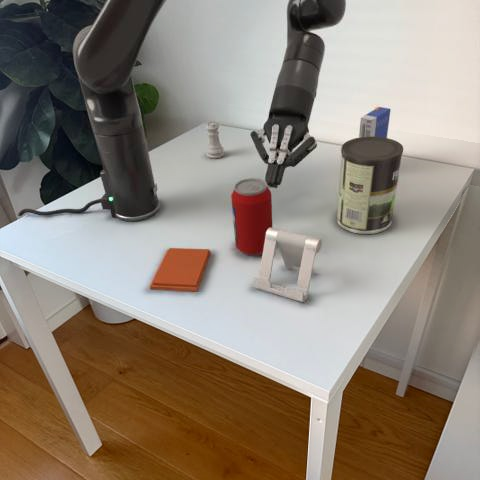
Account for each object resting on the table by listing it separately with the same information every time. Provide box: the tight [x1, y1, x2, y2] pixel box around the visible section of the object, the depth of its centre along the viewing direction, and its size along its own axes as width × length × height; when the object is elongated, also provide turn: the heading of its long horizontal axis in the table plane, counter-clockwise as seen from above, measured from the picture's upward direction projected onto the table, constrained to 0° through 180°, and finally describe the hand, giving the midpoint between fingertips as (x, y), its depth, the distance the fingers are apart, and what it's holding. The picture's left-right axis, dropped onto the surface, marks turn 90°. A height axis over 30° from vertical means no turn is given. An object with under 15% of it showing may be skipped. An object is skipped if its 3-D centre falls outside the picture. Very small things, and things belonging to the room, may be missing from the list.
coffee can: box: [336, 137, 404, 235], centre depth 87 cm, size 10×10×14 cm
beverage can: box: [230, 177, 273, 256], centre depth 83 cm, size 7×7×12 cm
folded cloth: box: [149, 247, 212, 293], centre depth 83 cm, size 8×11×1 cm
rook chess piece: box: [205, 120, 225, 160], centre depth 116 cm, size 4×4×8 cm
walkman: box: [358, 106, 392, 138], centre depth 104 cm, size 8×3×12 cm, turn 138°
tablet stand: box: [252, 227, 323, 303], centre depth 75 cm, size 9×8×8 cm
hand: (271, 186), depth 88 cm, fingers closed
